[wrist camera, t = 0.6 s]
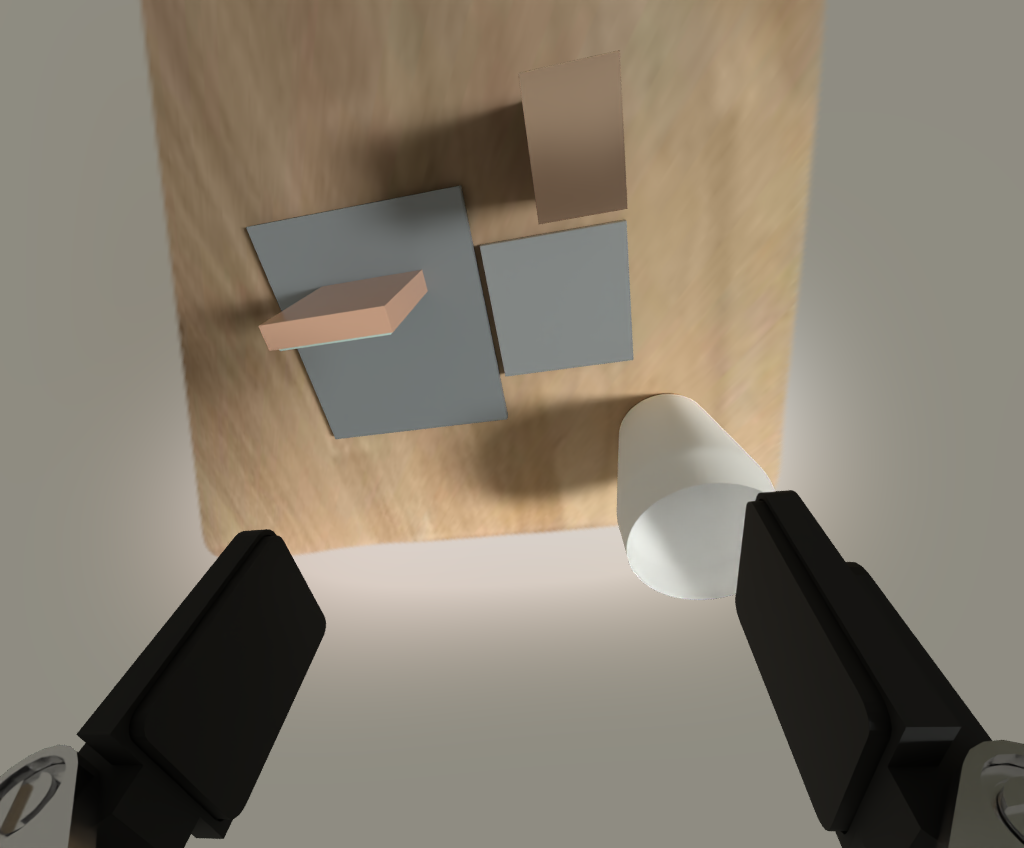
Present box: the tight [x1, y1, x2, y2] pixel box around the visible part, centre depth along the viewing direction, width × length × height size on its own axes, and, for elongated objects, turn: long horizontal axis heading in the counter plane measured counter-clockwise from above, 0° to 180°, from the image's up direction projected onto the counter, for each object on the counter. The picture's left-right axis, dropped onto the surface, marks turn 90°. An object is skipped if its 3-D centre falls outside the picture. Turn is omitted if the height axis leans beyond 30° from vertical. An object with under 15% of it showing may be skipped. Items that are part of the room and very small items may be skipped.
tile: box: [259, 270, 428, 351], centre depth 28 cm, size 2×7×8 cm, turn 100°
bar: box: [518, 50, 627, 224], centre depth 22 cm, size 5×4×11 cm
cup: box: [617, 394, 775, 600], centre depth 31 cm, size 9×9×12 cm
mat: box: [246, 186, 508, 439], centre depth 33 cm, size 16×14×1 cm
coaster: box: [480, 220, 633, 376], centre depth 31 cm, size 9×9×1 cm
